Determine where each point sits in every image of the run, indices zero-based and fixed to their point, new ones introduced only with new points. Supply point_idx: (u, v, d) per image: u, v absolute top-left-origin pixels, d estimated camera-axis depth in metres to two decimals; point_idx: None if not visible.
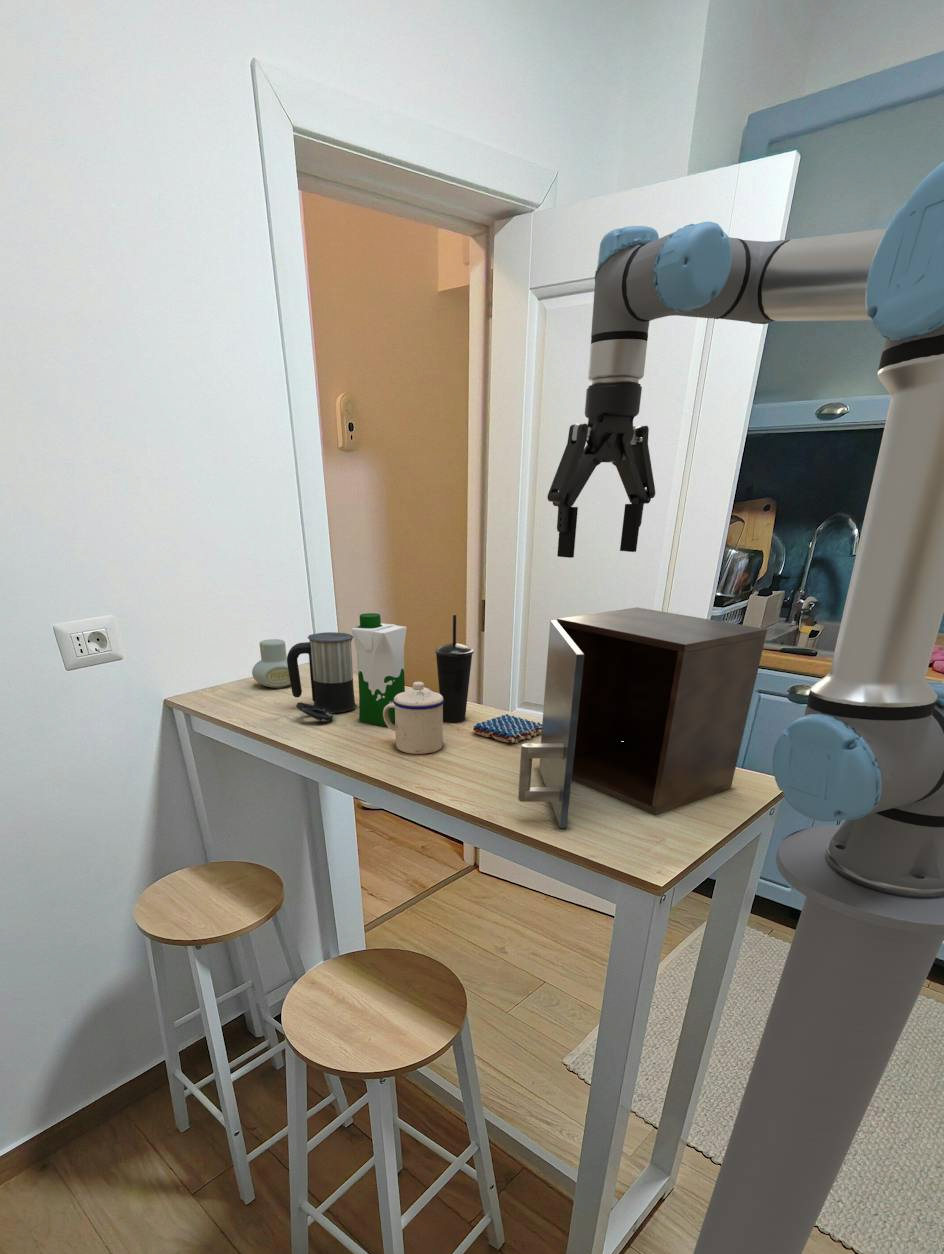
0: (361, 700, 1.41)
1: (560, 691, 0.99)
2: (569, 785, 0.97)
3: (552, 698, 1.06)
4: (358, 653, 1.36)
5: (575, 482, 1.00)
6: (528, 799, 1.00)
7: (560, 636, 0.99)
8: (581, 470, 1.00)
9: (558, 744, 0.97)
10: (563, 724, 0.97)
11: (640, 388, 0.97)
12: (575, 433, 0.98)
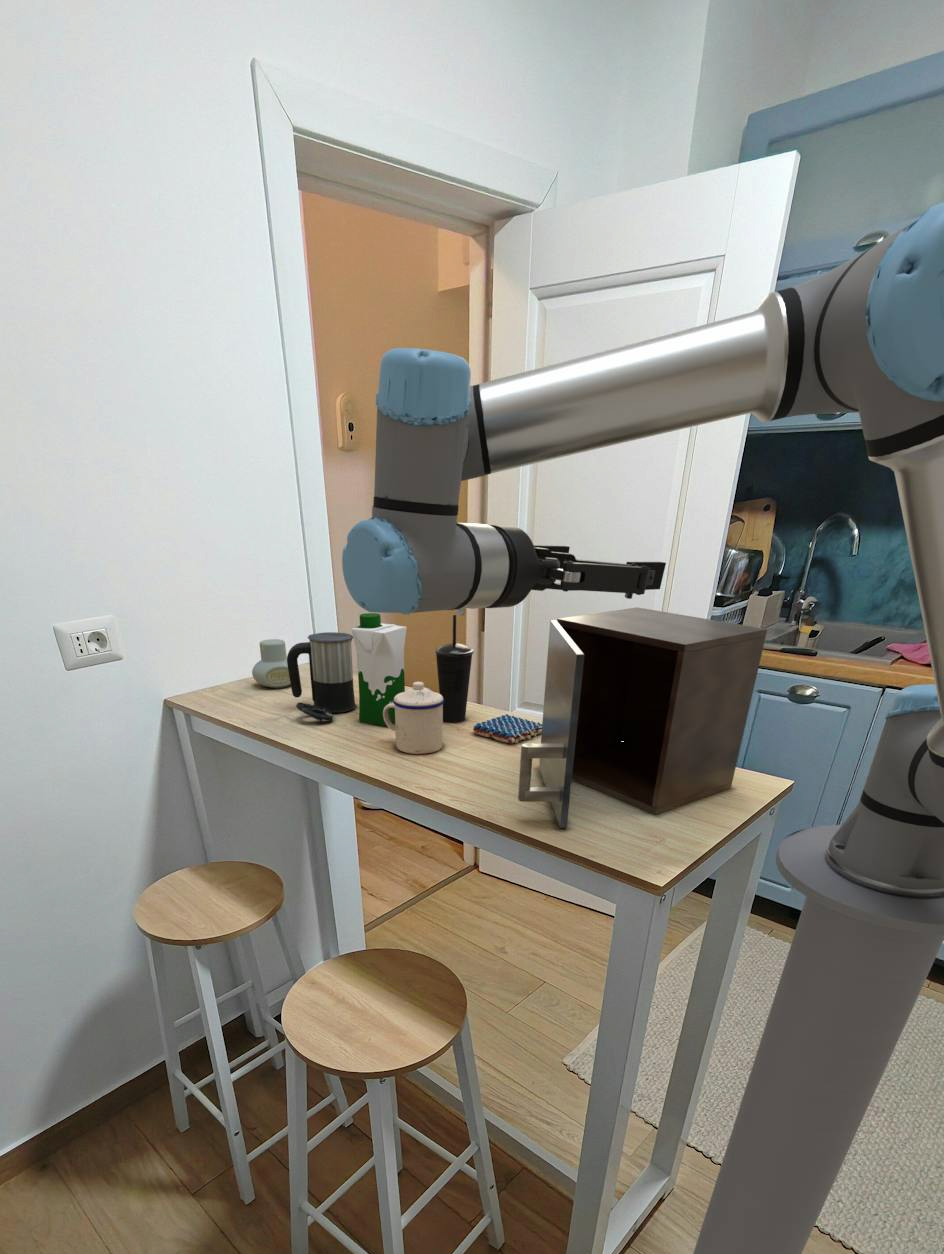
0: (361, 700, 1.41)
1: (560, 691, 0.99)
2: (569, 785, 0.97)
3: (552, 698, 1.06)
4: (358, 653, 1.36)
5: None
6: (528, 799, 1.00)
7: (560, 636, 0.99)
8: None
9: (558, 744, 0.97)
10: (563, 724, 0.97)
11: None
12: (576, 575, 0.70)
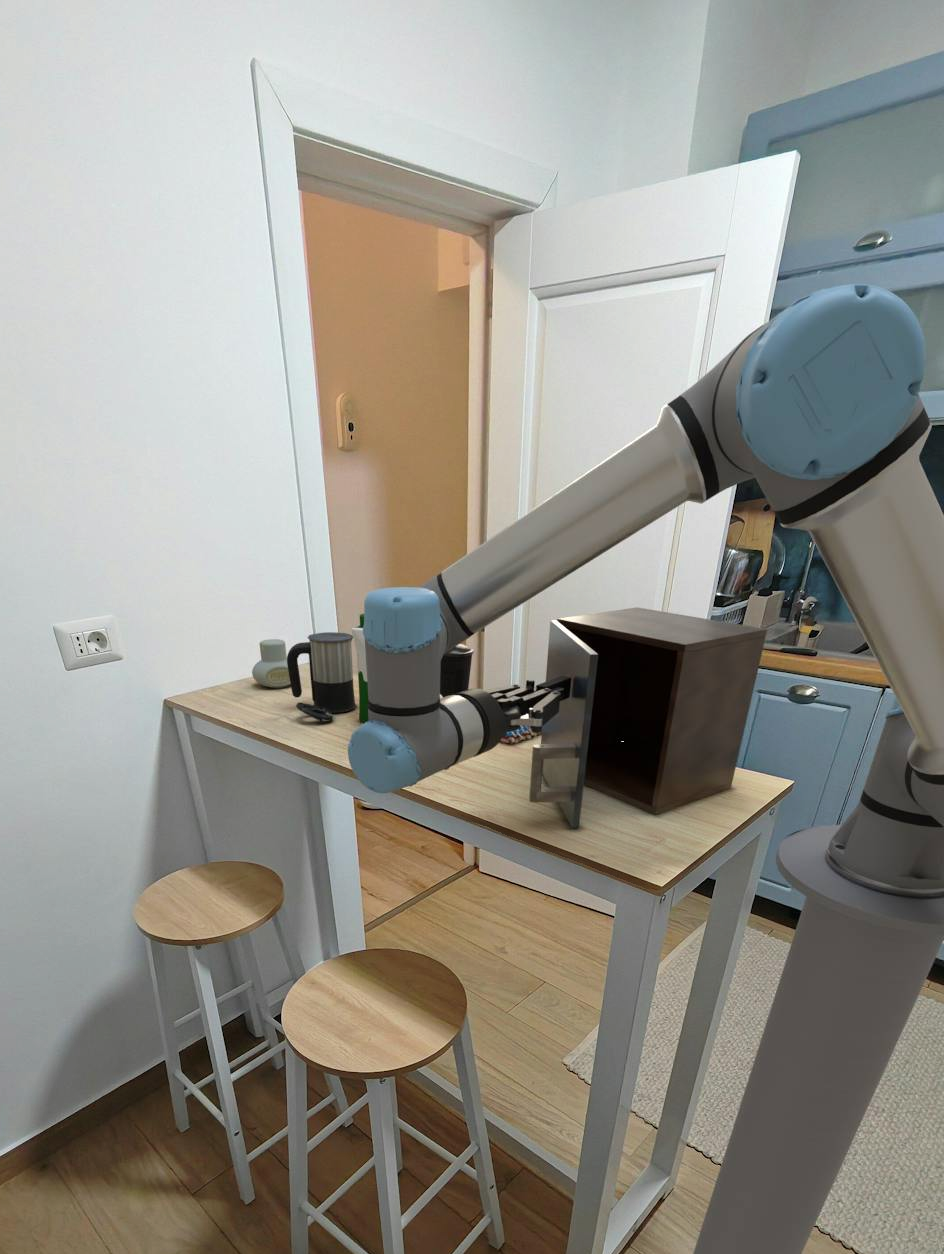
0: (361, 700, 1.41)
1: None
2: (582, 785, 0.97)
3: None
4: (358, 653, 1.36)
5: (539, 700, 0.90)
6: (539, 800, 1.00)
7: (566, 636, 0.99)
8: (531, 704, 0.89)
9: (569, 744, 0.97)
10: (573, 724, 0.97)
11: (454, 694, 0.82)
12: None
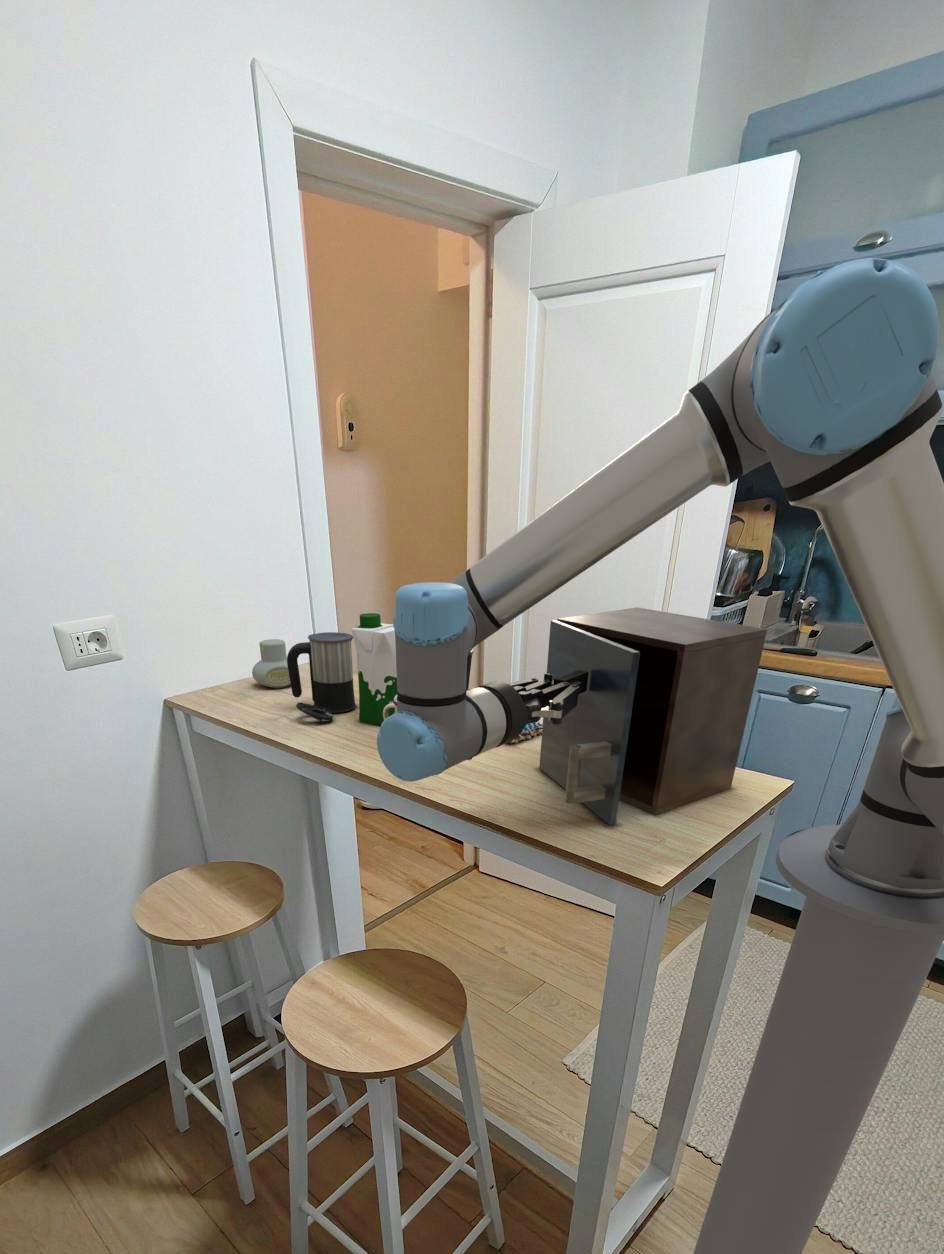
0: (361, 700, 1.41)
1: (591, 690, 1.00)
2: (620, 782, 0.98)
3: None
4: (358, 653, 1.36)
5: (558, 693, 0.93)
6: (577, 800, 1.00)
7: (583, 635, 1.00)
8: (550, 697, 0.92)
9: (603, 742, 0.98)
10: (605, 722, 0.98)
11: (478, 686, 0.85)
12: None
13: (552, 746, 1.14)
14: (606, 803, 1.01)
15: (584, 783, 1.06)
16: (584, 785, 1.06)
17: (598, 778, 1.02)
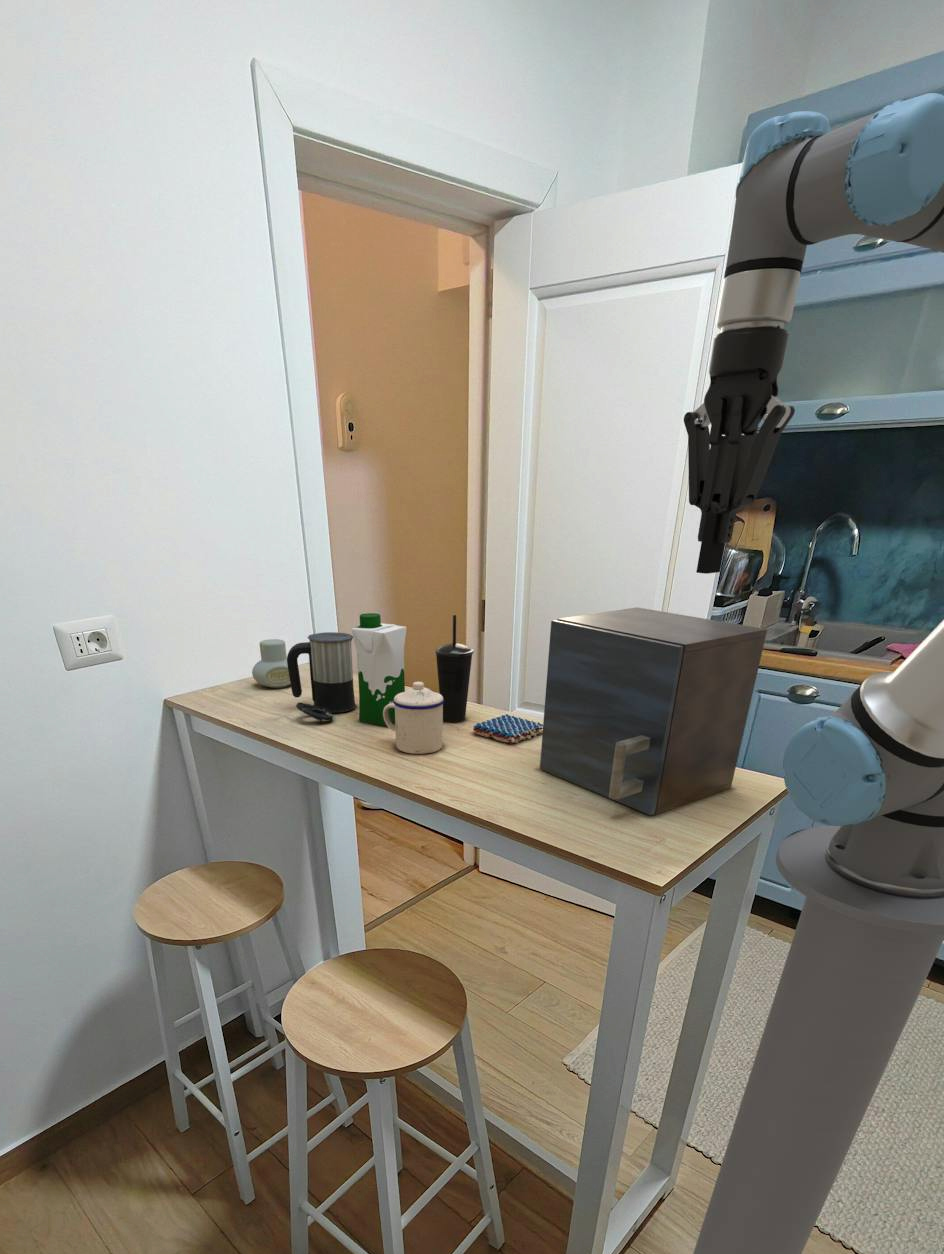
0: (361, 700, 1.41)
1: (617, 686, 1.01)
2: (661, 773, 1.01)
3: (583, 696, 1.07)
4: (358, 653, 1.36)
5: None
6: (621, 795, 1.01)
7: (602, 633, 1.01)
8: None
9: (641, 736, 1.00)
10: (639, 717, 1.00)
11: (743, 335, 0.74)
12: None
13: (559, 745, 1.15)
14: (644, 795, 1.03)
15: (610, 778, 1.08)
16: (610, 780, 1.08)
17: (631, 772, 1.04)
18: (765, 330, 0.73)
